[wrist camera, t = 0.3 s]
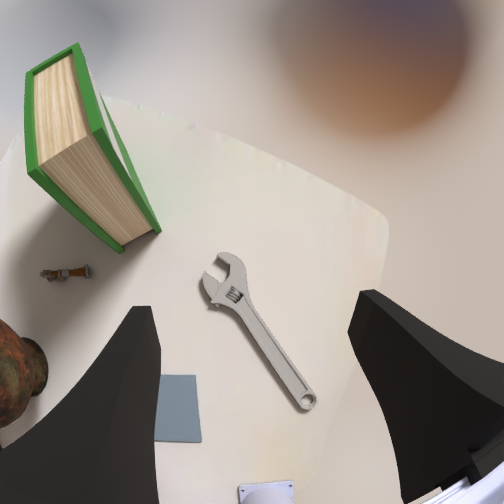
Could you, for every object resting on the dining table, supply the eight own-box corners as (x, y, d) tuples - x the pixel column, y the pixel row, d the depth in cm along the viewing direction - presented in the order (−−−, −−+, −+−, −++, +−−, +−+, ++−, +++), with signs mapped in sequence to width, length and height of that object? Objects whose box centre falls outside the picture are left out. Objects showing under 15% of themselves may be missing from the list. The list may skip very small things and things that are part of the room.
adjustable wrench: (318, 400, 37) (322, 402, 36) (279, 422, 36) (281, 426, 35) (234, 250, 42) (234, 246, 41) (194, 270, 41) (192, 267, 40)
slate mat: (201, 440, 34) (201, 441, 34) (153, 439, 34) (152, 440, 33) (195, 374, 37) (195, 375, 37) (146, 374, 36) (145, 374, 36)
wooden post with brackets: (44, 274, 38) (38, 266, 34) (88, 271, 42) (87, 263, 38) (44, 285, 38) (38, 278, 34) (89, 282, 42) (88, 275, 38)
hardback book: (162, 230, 42) (102, 127, 19) (119, 254, 41) (27, 173, 18) (125, 148, 46) (78, 42, 23) (89, 168, 44) (25, 73, 21)
